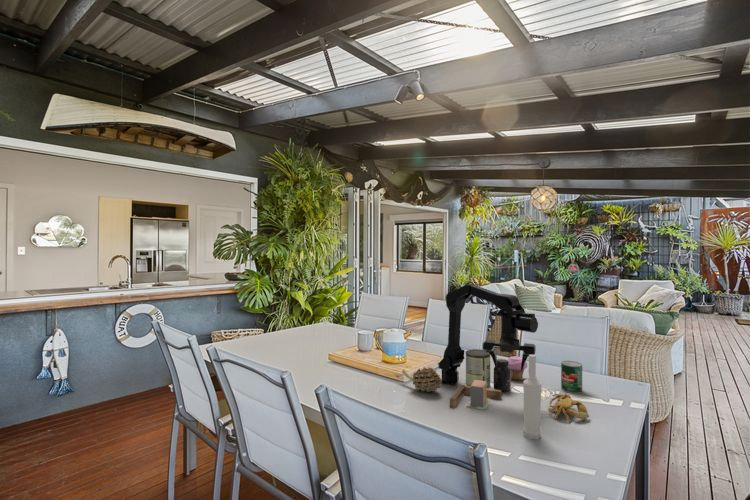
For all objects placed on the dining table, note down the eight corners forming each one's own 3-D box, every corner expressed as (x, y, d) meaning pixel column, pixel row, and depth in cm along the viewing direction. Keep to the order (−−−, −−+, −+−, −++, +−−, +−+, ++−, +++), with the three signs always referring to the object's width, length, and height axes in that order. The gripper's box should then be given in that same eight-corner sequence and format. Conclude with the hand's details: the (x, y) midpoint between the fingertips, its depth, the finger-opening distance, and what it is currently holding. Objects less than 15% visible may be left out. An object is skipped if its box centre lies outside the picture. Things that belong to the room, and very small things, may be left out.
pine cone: (448, 393, 164) (448, 368, 164) (433, 399, 157) (433, 373, 157) (407, 380, 180) (407, 357, 180) (392, 385, 173) (392, 362, 173)
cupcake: (505, 380, 180) (505, 357, 180) (506, 374, 188) (506, 353, 188) (526, 383, 176) (526, 359, 176) (527, 377, 184) (527, 354, 184)
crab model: (589, 427, 134) (589, 410, 133) (547, 419, 139) (547, 403, 139) (588, 410, 147) (588, 395, 147) (550, 403, 153) (550, 389, 153)
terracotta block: (474, 397, 158) (474, 379, 158) (486, 399, 156) (486, 381, 156) (470, 405, 151) (470, 386, 151) (482, 407, 149) (482, 387, 149)
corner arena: (449, 406, 150) (449, 398, 150) (460, 391, 165) (460, 384, 165) (494, 414, 143) (494, 405, 143) (501, 397, 159) (501, 390, 159)
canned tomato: (582, 388, 169) (582, 362, 169) (582, 394, 162) (582, 367, 162) (561, 385, 173) (561, 359, 173) (560, 391, 165) (561, 364, 165)
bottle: (520, 432, 129) (520, 353, 129) (536, 431, 130) (536, 353, 130) (527, 440, 124) (528, 357, 124) (544, 439, 125) (544, 357, 124)
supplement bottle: (511, 393, 164) (511, 363, 164) (494, 391, 166) (494, 362, 165) (509, 387, 171) (509, 358, 171) (492, 386, 172) (492, 357, 172)
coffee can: (466, 380, 180) (467, 348, 180) (491, 382, 176) (491, 350, 176) (464, 387, 170) (464, 354, 170) (489, 390, 167) (489, 356, 167)
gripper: (480, 330, 152) (480, 372, 152) (533, 334, 144) (533, 379, 144) (485, 325, 162) (485, 364, 162) (535, 329, 154) (535, 370, 154)
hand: (508, 369), depth 156 cm, fingers open, 9 cm apart
